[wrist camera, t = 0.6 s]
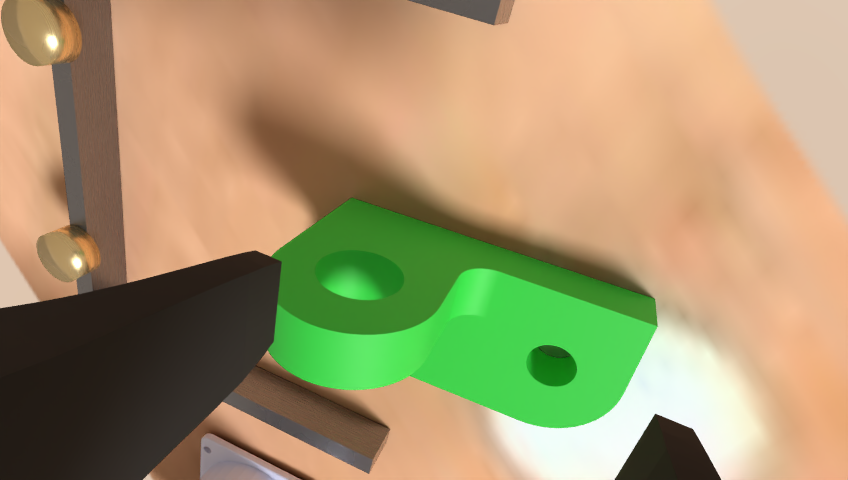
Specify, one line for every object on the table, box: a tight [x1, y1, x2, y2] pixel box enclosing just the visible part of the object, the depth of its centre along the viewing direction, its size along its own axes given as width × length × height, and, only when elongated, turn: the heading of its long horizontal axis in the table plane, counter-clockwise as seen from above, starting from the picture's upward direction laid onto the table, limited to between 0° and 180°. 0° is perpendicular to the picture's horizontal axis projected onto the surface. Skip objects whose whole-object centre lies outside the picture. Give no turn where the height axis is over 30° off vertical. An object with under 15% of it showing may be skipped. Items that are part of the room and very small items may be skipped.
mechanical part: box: [268, 198, 657, 428], centre depth 18 cm, size 12×6×8 cm, turn 79°
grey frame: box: [1, 0, 514, 474], centre depth 21 cm, size 21×18×3 cm
